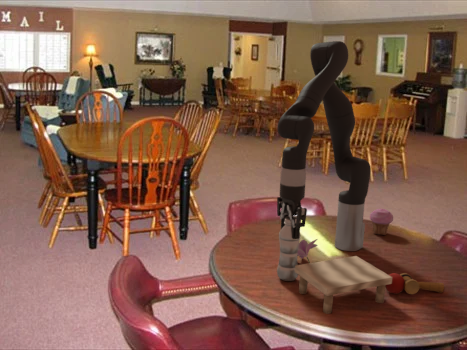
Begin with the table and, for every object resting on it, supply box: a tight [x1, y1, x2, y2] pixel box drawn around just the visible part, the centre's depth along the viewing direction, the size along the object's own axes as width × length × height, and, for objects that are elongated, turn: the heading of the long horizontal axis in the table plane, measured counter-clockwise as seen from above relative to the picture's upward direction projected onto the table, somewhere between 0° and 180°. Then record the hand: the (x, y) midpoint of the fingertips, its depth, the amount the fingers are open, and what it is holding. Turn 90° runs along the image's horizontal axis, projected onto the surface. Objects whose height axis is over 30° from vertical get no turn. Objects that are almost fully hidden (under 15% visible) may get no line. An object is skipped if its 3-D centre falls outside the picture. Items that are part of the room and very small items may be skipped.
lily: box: [297, 238, 318, 263], centre depth 188 cm, size 12×12×10 cm
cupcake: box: [369, 207, 394, 236], centre depth 220 cm, size 9×9×10 cm
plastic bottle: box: [276, 216, 301, 282], centre depth 174 cm, size 6×7×20 cm
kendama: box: [385, 272, 445, 295], centre depth 171 cm, size 8×6×18 cm
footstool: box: [295, 255, 392, 315], centre depth 165 cm, size 22×17×8 cm
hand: (289, 234), depth 173 cm, fingers closed on plastic bottle, 6 cm apart
